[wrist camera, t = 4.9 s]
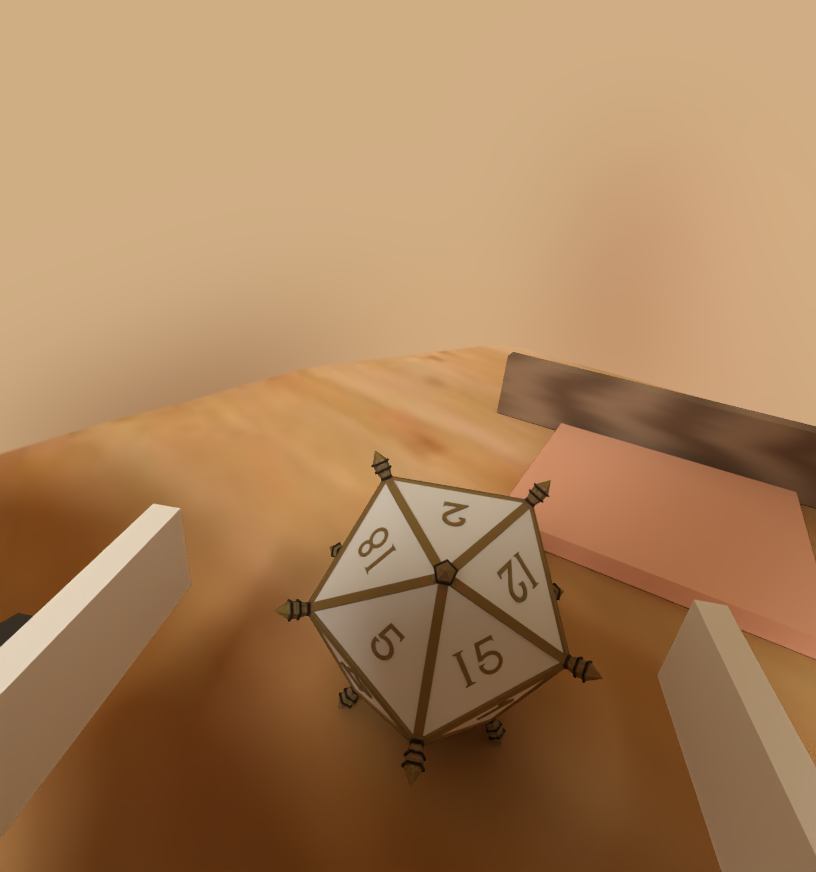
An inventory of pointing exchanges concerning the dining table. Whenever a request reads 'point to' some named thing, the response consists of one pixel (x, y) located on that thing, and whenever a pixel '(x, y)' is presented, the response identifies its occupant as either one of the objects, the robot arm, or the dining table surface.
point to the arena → (663, 422)
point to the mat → (679, 531)
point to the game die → (441, 609)
